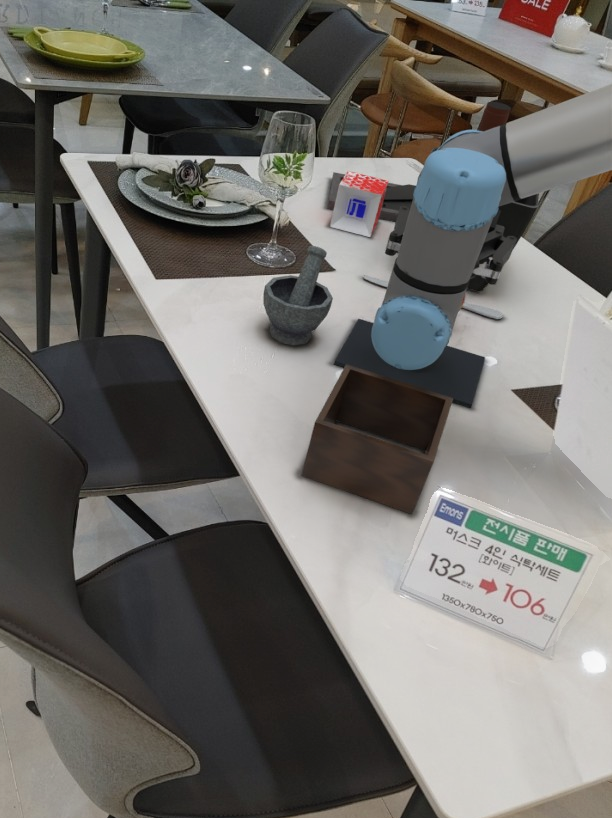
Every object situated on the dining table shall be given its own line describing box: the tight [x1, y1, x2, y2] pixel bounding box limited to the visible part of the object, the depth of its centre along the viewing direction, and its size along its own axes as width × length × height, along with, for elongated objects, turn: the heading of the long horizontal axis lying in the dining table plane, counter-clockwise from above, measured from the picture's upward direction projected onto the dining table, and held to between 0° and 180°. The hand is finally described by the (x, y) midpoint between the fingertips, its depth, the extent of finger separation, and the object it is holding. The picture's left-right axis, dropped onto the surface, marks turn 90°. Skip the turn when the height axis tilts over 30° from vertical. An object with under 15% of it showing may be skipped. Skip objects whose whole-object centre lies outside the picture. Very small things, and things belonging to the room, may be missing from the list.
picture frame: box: [327, 171, 416, 223], centre depth 155 cm, size 16×2×21 cm
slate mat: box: [333, 318, 486, 409], centre depth 112 cm, size 20×14×1 cm
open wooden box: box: [301, 364, 453, 515], centre depth 91 cm, size 14×14×8 cm
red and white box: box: [329, 170, 389, 238], centre depth 144 cm, size 8×8×8 cm
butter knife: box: [362, 275, 504, 320], centre depth 128 cm, size 1×24×3 cm
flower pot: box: [416, 147, 540, 293], centre depth 131 cm, size 19×19×17 cm
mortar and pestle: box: [262, 245, 334, 347], centre depth 110 cm, size 11×9×12 cm
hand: (463, 211), depth 101 cm, fingers closed on wine bottle, 7 cm apart
